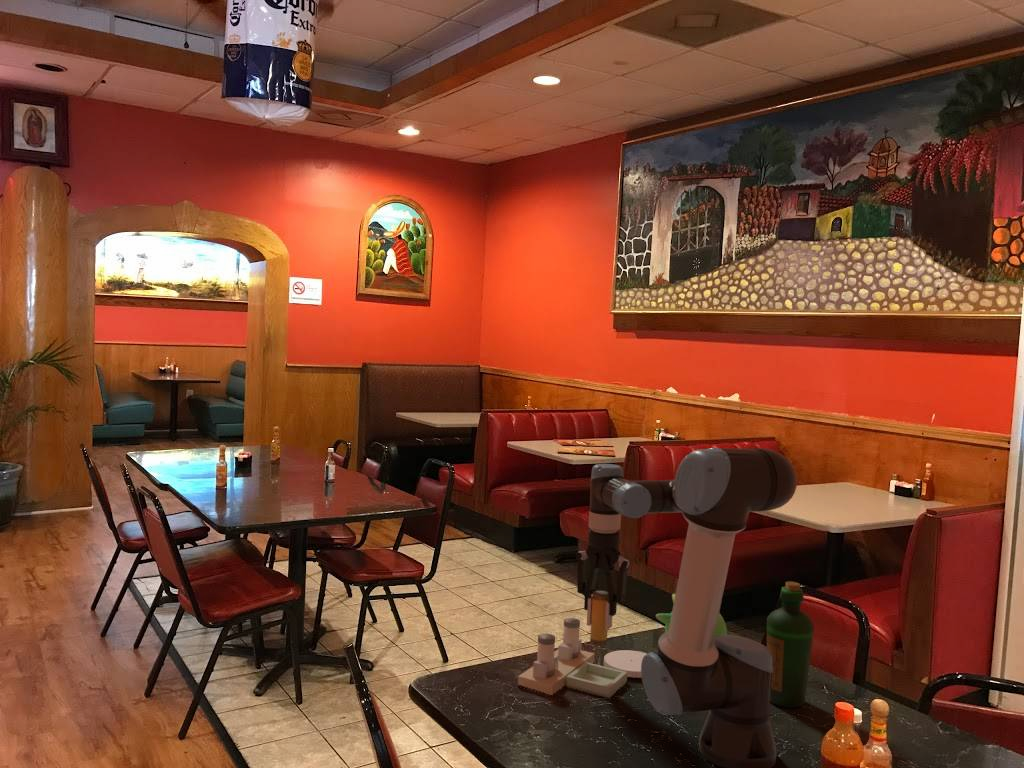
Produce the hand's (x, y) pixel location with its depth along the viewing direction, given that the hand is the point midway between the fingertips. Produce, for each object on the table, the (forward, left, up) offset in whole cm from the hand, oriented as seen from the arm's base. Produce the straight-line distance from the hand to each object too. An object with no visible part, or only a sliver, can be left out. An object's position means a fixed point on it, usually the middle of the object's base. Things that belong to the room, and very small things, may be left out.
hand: (599, 625), depth 201 cm
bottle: (+17, -41, -15) cm, 46 cm away
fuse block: (0, +10, -14) cm, 18 cm away
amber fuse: (0, 0, -4) cm, 4 cm away
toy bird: (+32, -14, -15) cm, 38 cm away
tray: (0, 0, -14) cm, 14 cm away
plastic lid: (+14, -4, -15) cm, 21 cm away
